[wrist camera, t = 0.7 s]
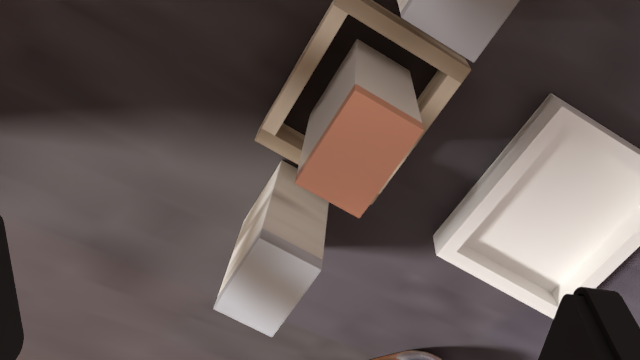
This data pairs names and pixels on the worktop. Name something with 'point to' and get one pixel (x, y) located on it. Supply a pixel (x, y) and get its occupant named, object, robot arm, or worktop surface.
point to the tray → (549, 210)
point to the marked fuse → (359, 130)
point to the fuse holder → (281, 191)
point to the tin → (409, 356)
